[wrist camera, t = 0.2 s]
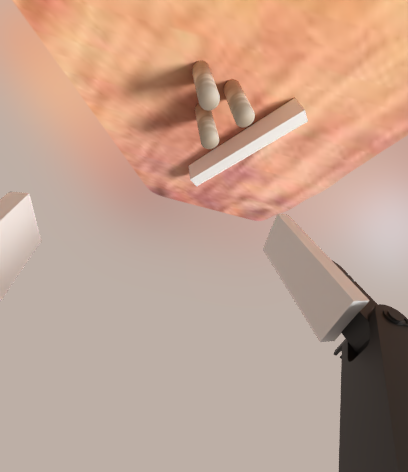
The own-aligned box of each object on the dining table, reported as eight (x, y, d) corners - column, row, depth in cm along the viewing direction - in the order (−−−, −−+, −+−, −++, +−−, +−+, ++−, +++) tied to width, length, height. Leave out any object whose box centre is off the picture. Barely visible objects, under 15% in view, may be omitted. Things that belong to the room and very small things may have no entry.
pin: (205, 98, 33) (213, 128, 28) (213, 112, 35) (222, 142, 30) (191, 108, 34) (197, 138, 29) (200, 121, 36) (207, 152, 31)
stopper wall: (294, 97, 34) (304, 109, 32) (298, 108, 36) (307, 121, 33) (188, 165, 42) (190, 179, 40) (194, 172, 43) (196, 186, 41)
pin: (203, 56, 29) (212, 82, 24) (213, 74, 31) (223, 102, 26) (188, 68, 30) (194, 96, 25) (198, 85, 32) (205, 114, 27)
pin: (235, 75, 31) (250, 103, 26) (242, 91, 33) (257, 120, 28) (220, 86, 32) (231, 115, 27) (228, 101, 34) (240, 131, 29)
